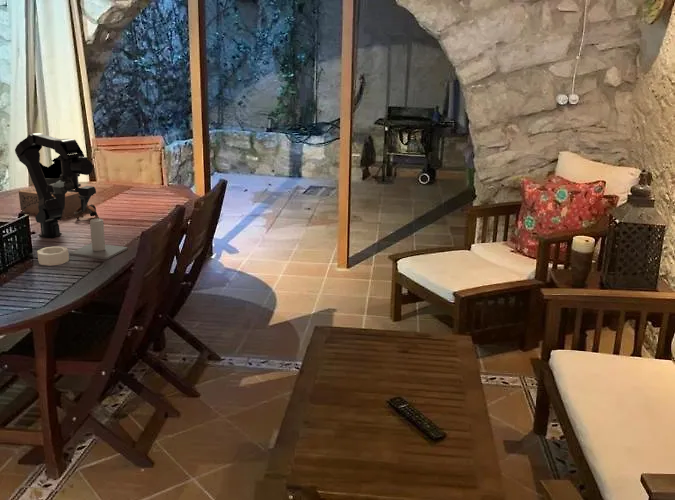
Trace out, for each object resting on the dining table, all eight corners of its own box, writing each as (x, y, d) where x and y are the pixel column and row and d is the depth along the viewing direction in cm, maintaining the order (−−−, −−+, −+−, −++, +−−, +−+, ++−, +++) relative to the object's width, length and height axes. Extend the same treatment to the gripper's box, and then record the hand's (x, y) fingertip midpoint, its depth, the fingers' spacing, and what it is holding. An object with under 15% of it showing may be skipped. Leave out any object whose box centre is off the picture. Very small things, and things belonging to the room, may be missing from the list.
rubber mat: (69, 254, 257) (69, 252, 256) (91, 244, 269) (91, 242, 269) (106, 259, 253) (106, 257, 252) (127, 249, 266) (127, 247, 265)
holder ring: (32, 263, 246) (31, 252, 245) (50, 255, 255) (49, 245, 254) (56, 266, 244) (55, 256, 242) (74, 258, 253) (73, 248, 252)
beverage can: (90, 249, 261) (88, 219, 258) (103, 247, 264) (101, 217, 260) (94, 252, 258) (91, 222, 254) (107, 250, 260) (104, 220, 257)
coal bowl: (82, 193, 353) (79, 157, 348) (48, 200, 337) (44, 162, 331) (58, 188, 363) (54, 153, 358) (24, 194, 347) (20, 158, 342)
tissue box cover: (87, 211, 319) (85, 191, 316) (65, 218, 306) (63, 197, 303) (44, 205, 328) (41, 185, 325) (20, 212, 315) (18, 191, 312)
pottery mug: (96, 224, 300) (85, 209, 296) (79, 231, 303) (68, 217, 299) (105, 211, 310) (94, 196, 307) (89, 218, 313) (78, 204, 309)
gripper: (35, 173, 259) (39, 213, 263) (77, 177, 254) (81, 217, 259) (54, 168, 269) (57, 206, 274) (95, 172, 264) (98, 211, 269)
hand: (73, 210), depth 268 cm, fingers open, 9 cm apart
